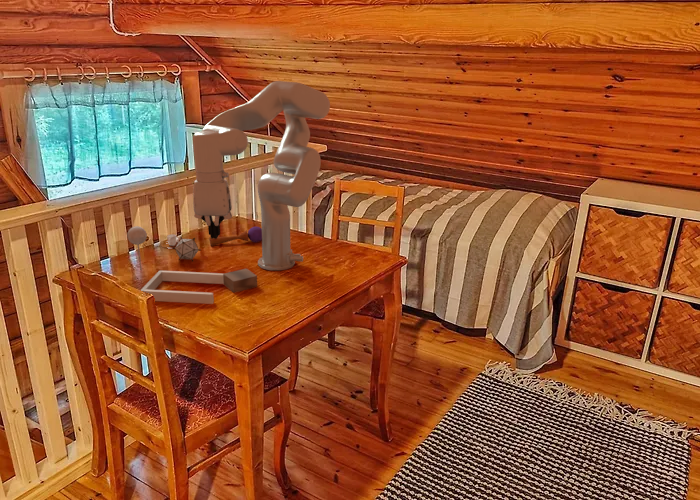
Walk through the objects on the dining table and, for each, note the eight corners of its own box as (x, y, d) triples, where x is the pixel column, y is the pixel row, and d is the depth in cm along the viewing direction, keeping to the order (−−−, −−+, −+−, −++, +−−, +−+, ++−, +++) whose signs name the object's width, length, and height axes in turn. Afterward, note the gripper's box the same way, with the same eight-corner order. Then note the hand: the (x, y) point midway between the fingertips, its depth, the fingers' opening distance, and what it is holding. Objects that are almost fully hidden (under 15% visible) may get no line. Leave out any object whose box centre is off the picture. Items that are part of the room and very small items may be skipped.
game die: (188, 271, 196) (179, 256, 187) (173, 257, 199) (164, 242, 191) (208, 255, 199) (200, 239, 191) (193, 242, 202) (185, 226, 194)
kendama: (208, 232, 212) (261, 224, 218) (210, 248, 213) (263, 239, 219) (209, 235, 206) (264, 226, 212) (212, 251, 207) (266, 242, 213)
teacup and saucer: (172, 240, 215) (171, 230, 213) (189, 243, 212) (188, 233, 211) (156, 247, 207) (155, 237, 206) (174, 251, 205) (173, 240, 203)
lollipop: (127, 269, 186) (122, 226, 181) (144, 265, 190) (139, 222, 185) (137, 275, 182) (132, 231, 177) (153, 270, 187) (149, 227, 181)
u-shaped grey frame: (226, 282, 179) (225, 273, 178) (212, 303, 165) (212, 294, 164) (160, 279, 180) (159, 270, 179) (140, 300, 166) (139, 290, 165)
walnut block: (246, 279, 183) (246, 268, 181) (257, 287, 177) (256, 275, 176) (223, 285, 178) (223, 273, 177) (233, 293, 173) (233, 281, 171)
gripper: (239, 173, 163) (242, 233, 170) (188, 172, 163) (193, 231, 170) (233, 180, 156) (237, 242, 163) (179, 178, 156) (185, 240, 163)
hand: (214, 237), depth 166 cm, fingers closed
